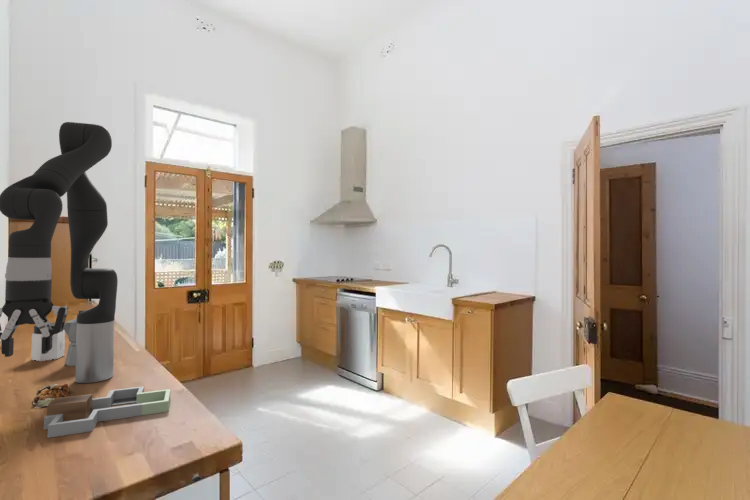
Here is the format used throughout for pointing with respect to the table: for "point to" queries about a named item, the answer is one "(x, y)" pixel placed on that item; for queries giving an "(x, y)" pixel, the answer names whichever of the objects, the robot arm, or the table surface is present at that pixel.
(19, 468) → the table surface
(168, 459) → the table surface
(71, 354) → the coffee maker
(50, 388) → the pastry
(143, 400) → the track
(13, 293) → the robot arm
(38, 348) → the jar
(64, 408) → the block
